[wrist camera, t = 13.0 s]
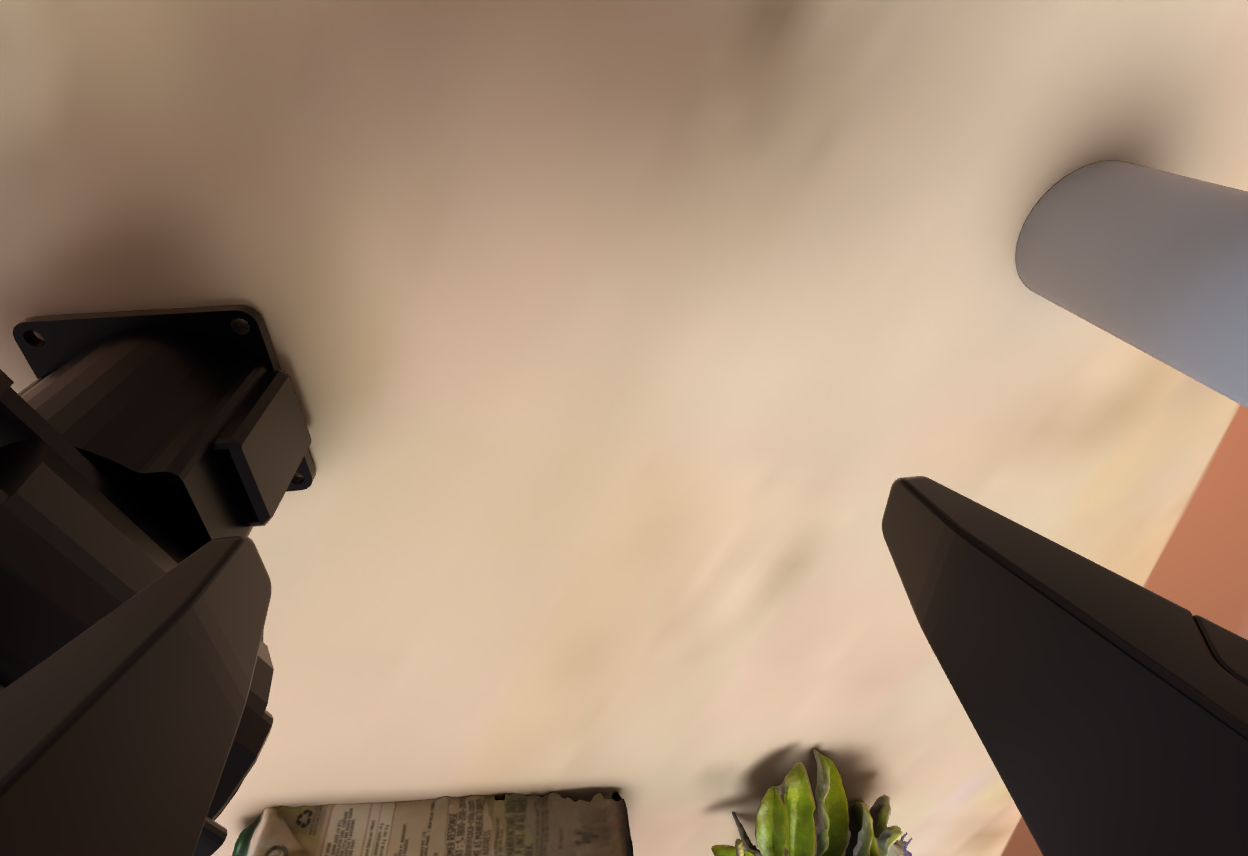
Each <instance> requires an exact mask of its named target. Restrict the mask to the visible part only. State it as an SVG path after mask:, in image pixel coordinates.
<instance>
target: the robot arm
mask: <svg viewBox="0 0 1248 856" xmlns="http://www.w3.org/2000/svg"><path fill="white" fill-rule="evenodd" d="M236 318H240V319H243V320H245V321H247V322H248V324H249V325H250V329H244V328H242V327H241V326H239V325H238V323H237V322H236ZM33 331H36V332H38V333H40V334H41V335H42V336H43V337H44V339H45V341H44V340H41V339H39V338H37V337H36V335H35V334H34V333H33ZM13 336H14V338H15V341H16V342H17V344H18V346H19V348H20V349H21V351H22V353H23V354H24V356H25V358H26V360H27V361H28V363H29V365H30V366H31V368H32V370H33V372H34V373H35V375H36V377H37V378H38V380H36V381H35V382H34V383H32V384H31V385H30V386H28V387H27V388H25V389H24V390H23V391H21V392H20V393H19V394H17V393H16V392H15V391H14V390H13V389H12V388H11V387H10V386H11V385H12V384H13V383H14V382H13V381H12V380H11V379H10V378H9V377H8V376H7V375H6V374H5V373H4V372H3V371H1V370H0V856H211V855H212V854H213V853H214V852H215V851H216V850H217V849H218V848H219V847H220V846H221V845H222V844H223V842H224V841H225V839H226V836H227V829H226V828H224V827H223V826H221V825H220V824H218V823H217V822H215V821H214V820H215V819H216V818H217V817H218V816H219V815H220V814H221V813H222V811H223V810H224V809H225V807H226V806H227V804H228V803H229V802H230V800H231V799H232V798H233V796H234V795H235V794H236V792H237V791H238V789H239V787H240V785H241V784H242V782H243V780H244V778H245V777H246V775H247V774H248V773H249V771H250V770H251V768H252V767H253V765H254V764H255V762H256V760H257V758H258V756H259V754H260V752H261V750H262V748H263V746H264V744H265V742H266V740H267V738H268V736H269V733H270V730H271V727H272V723H273V717H272V715H271V714H270V713H269V712H267V711H266V710H265V709H266V706H267V704H268V698H269V692H270V687H271V681H272V676H273V670H274V669H273V665H272V662H271V658H270V655H269V651H268V647H267V645H265V644H264V643H263V629H264V624H265V620H266V616H267V611H268V607H269V602H270V598H271V582H270V578H269V575H268V573H267V571H266V569H265V566H264V564H263V562H262V560H261V557H260V555H259V553H258V551H257V548H256V546H255V544H254V542H253V541H252V540H251V539H250V538H249V537H248V535H249V533H250V532H251V530H252V528H253V527H255V526H265V525H266V524H267V523H268V521H269V520H270V519H271V518H272V517H273V515H274V513H275V511H276V509H277V507H278V505H279V503H280V501H281V499H282V498H283V496H284V494H285V492H286V491H297V490H303V489H307V488H308V487H309V486H311V484H312V481H313V479H314V477H315V475H316V472H315V468H314V465H313V462H312V459H311V456H310V453H309V450H308V448H309V446H310V444H311V437H310V434H309V431H308V428H307V425H306V422H305V419H304V417H303V414H302V411H301V408H300V405H299V402H298V399H297V396H296V393H295V390H294V387H293V384H292V381H291V378H290V376H288V375H287V374H286V373H285V372H284V371H282V370H281V369H280V366H279V364H278V361H277V358H276V355H275V352H274V349H273V346H272V343H271V340H270V338H269V335H268V332H267V329H266V326H265V323H264V320H263V318H262V317H261V315H260V314H259V313H258V312H257V311H256V310H255V309H253V308H251V307H249V306H245V305H229V306H212V307H194V308H176V309H158V310H140V311H123V312H105V313H87V314H69V315H52V316H34V317H30V318H27V319H25V320H24V321H22V322H20V323H19V324H17V325H16V326H15V327H14V330H13ZM296 472H297V473H300V474H302V475H303V476H304V477H297V476H295V473H296ZM882 531H883V536H884V539H885V541H886V544H887V546H888V549H889V551H890V554H891V556H892V558H893V561H894V563H895V566H896V568H897V571H898V573H899V576H900V578H901V581H902V583H903V586H904V588H905V591H906V593H907V595H908V598H909V600H910V603H911V605H912V608H913V610H914V613H915V615H916V617H917V619H918V622H919V624H920V626H921V628H922V630H923V632H924V634H925V636H926V638H927V640H928V642H929V644H930V646H931V648H932V650H933V651H934V653H935V655H936V657H937V659H938V661H939V663H940V664H941V666H942V668H943V670H944V672H945V674H946V676H947V678H948V679H949V681H950V683H951V685H952V687H953V689H954V691H955V692H956V694H957V696H958V698H959V700H960V702H961V704H962V705H963V707H964V709H965V711H966V713H967V715H968V717H969V718H970V720H971V722H972V724H973V726H974V728H975V730H976V732H977V733H978V735H979V737H980V739H981V741H982V743H983V745H984V746H985V748H986V750H987V752H988V754H989V756H990V758H991V759H992V761H993V763H994V765H995V767H996V769H997V771H998V772H999V774H1000V776H1001V778H1002V780H1003V782H1004V784H1005V785H1006V787H1007V789H1008V791H1009V793H1010V795H1011V797H1012V799H1013V800H1014V802H1015V804H1016V806H1017V808H1018V810H1019V812H1020V813H1021V815H1022V817H1023V819H1024V821H1025V823H1026V825H1027V826H1028V828H1029V830H1030V832H1031V834H1032V835H1033V838H1034V839H1035V841H1036V843H1037V845H1038V847H1039V849H1040V851H1041V852H1042V854H1043V856H1248V640H1246V639H1244V638H1242V637H1240V636H1238V635H1236V634H1234V633H1232V632H1230V631H1228V630H1226V629H1224V628H1222V627H1220V626H1218V625H1216V624H1214V623H1213V622H1211V621H1209V620H1207V619H1205V618H1203V617H1201V616H1198V615H1194V616H1192V614H1191V612H1190V611H1189V610H1187V609H1185V608H1183V607H1181V606H1179V605H1177V604H1175V603H1173V602H1171V601H1169V600H1167V599H1165V598H1163V597H1161V596H1159V595H1157V594H1155V593H1153V592H1151V591H1149V590H1147V589H1145V588H1144V587H1142V586H1140V585H1138V584H1136V583H1134V582H1132V581H1130V580H1128V579H1126V578H1124V577H1122V576H1120V575H1118V574H1116V573H1114V572H1112V571H1110V570H1108V569H1106V568H1104V567H1102V566H1100V565H1098V564H1096V563H1094V562H1092V561H1090V560H1089V559H1087V558H1085V557H1083V556H1081V555H1079V554H1077V553H1075V552H1073V551H1071V550H1069V549H1067V548H1065V547H1063V546H1061V545H1059V544H1057V543H1055V542H1053V541H1051V540H1049V539H1047V538H1045V537H1043V536H1041V535H1039V534H1037V533H1035V532H1033V531H1032V530H1030V529H1028V528H1026V527H1024V526H1022V525H1020V524H1018V523H1016V522H1014V521H1012V520H1010V519H1008V518H1006V517H1004V516H1002V515H1000V514H998V513H996V512H994V511H992V510H990V509H988V508H986V507H984V506H982V505H980V504H978V503H976V502H975V501H973V500H971V499H969V498H967V497H965V496H963V495H961V494H959V493H957V492H955V491H953V490H951V489H949V488H947V487H945V486H943V485H941V484H939V483H937V482H935V481H933V480H931V479H929V478H927V477H924V476H916V477H904V478H899V479H897V480H895V481H894V483H893V484H892V487H891V490H890V494H889V498H888V501H887V505H886V509H885V512H884V516H883V520H882Z"/></svg>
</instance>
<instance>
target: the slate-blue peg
mask: <svg viewBox="0 0 1248 856" xmlns="http://www.w3.org/2000/svg"><path fill="white" fill-rule="evenodd" d="M1016 266H1017V271H1018V274H1019V277H1020V278H1021V280H1022V282H1023V283H1024V284H1025V286H1026V287H1027V288H1029V289H1030V290H1031V291H1033V292H1034V293H1036V294H1038V295H1040V296H1042V297H1044V298H1045V299H1047V300H1049V301H1051V302H1053V303H1055V304H1057V305H1058V306H1060V307H1062V308H1064V309H1066V310H1068V311H1069V312H1071V313H1073V314H1075V315H1077V316H1079V317H1080V318H1082V319H1084V320H1086V321H1088V322H1090V323H1091V324H1093V325H1095V326H1097V327H1099V328H1101V329H1103V330H1104V331H1106V332H1108V333H1110V334H1112V335H1114V336H1115V337H1117V338H1119V339H1121V340H1123V341H1125V342H1126V343H1128V344H1130V345H1132V346H1134V347H1136V348H1137V349H1139V350H1141V351H1143V352H1145V353H1147V354H1149V355H1150V356H1152V357H1154V358H1156V359H1158V360H1160V361H1161V362H1163V363H1165V364H1167V365H1169V366H1171V367H1172V368H1174V369H1176V370H1178V371H1180V372H1182V373H1183V374H1185V375H1187V376H1189V377H1191V378H1193V379H1195V380H1196V381H1198V382H1200V383H1202V384H1204V385H1206V386H1207V387H1209V388H1211V389H1213V390H1215V391H1217V392H1218V393H1220V394H1222V395H1224V396H1226V397H1228V398H1229V399H1231V400H1233V401H1235V402H1237V403H1239V404H1241V405H1243V406H1244V407H1246V408H1248V192H1247V191H1243V190H1239V189H1234V188H1230V187H1226V186H1222V185H1218V184H1214V183H1209V182H1205V181H1201V180H1197V179H1193V178H1189V177H1185V176H1180V175H1176V174H1172V173H1168V172H1164V171H1160V170H1155V169H1151V168H1147V167H1143V166H1139V165H1135V164H1131V163H1126V162H1122V161H1111V160H1109V161H1101V162H1097V163H1093V164H1090V165H1087V166H1084V167H1082V168H1080V169H1078V170H1076V171H1074V172H1072V173H1071V174H1069V175H1068V176H1066V177H1064V178H1063V179H1062V180H1060V181H1059V182H1058V183H1057V184H1055V185H1054V186H1053V187H1052V188H1051V189H1050V190H1049V191H1048V192H1047V193H1046V194H1045V195H1044V196H1043V197H1042V198H1041V199H1040V200H1039V202H1038V203H1037V204H1036V206H1035V207H1034V208H1033V210H1032V211H1031V213H1030V215H1029V216H1028V218H1027V220H1026V222H1025V224H1024V226H1023V228H1022V231H1021V233H1020V236H1019V239H1018V243H1017V249H1016Z"/></svg>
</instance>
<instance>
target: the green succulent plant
mask: <svg viewBox="0 0 1248 856" xmlns="http://www.w3.org/2000/svg"><path fill="white" fill-rule="evenodd" d="M814 756H815V759H816V763H817V787H816V793H815V797H816V802H817V805H818V825H817V830H816V829H815V828H816V825H815V822H814V817H813V812H814V810H815V809H816V806H815V800H814V797H813V793H812V789H811V784H810V782H809V778H808V774H807V770H806V769H805V766H804V765H803V763H802V762H797V763H795V764H794V766H793V767H792V768H791V769H790V771H789V772H788V774H787V775H786V776H785V778H784V780H783V783H782V784H781V785H779V786H772V787H771V788H769V789H768V790H767V792H766V794H765V796H764V797H763V799H762V801H761V804H760V806H759V809H758V812H757V816H756V829H755V837H756V841H757V847H758V848H759V850H758V849H757V848H756V846H755V845H754V846H753V845H752V843H751V841H750V839H749V837H748V836H747V834H746V831H745V830H744V828H743V826H742V824H741V823H740V822H739V820H738V818H737V816H736V814H735V813H734V812H733V813H732V815H733V817H734V819H735V822H736V824H737V827H738V831H739V833H740V836H741V839H742V840H740V839H737V840H736V842H735V847H734V846H729V845H715V846H712V848H711V849H712V852H713V854H714V855H715V856H912V854H911V853H910V852H908V851H906V848H907V845H908V844H909V843H910V841H911V840H912V837H911V839H910V840H909V841H908V842H906V841H903V839H904V837H905V836H906V835H907V833H906V834H904V835H903V836H902V837H901V835H902V831H901V829H900V828H899V827H898V826H892V827H887V822H888V818H889V816H890V812H891V808H890V797H888V796H886V795H883V796H881V797H879V798H878V799H877V800H876V802H875V803H874V805H873V806H872V807H871V809H869V807H868V806H867V805H866V804H865V803H863V802H860V801H855V802H853V803H852V804H851V806H850V807H849V808H848V801H847V797H846V794H845V790H844V788H843V785H842V777H841V776H840V774H839V772H838V769H837V768H836V766H835V764H834V762H833V760H832V759H830V758H828V757H826V756H824V755H822V754H820V753H819V752H818V751H817V749H814ZM900 837H901V840H900V841H898V840H897V839H899V838H900ZM743 848H744V849H743Z"/></svg>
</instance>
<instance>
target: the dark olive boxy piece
mask: <svg viewBox="0 0 1248 856" xmlns="http://www.w3.org/2000/svg"><path fill="white" fill-rule="evenodd" d="M495 796H496V795H494V796H487V795H485V796H481V795H471V796H467V797H464V798H452V797H448V796H446V797H440V798H437V799H428V800H417V801H406V802H387V803H361V804H330V805H321V806H302V807H285V806H280V807H277V808H266V809H265V810H264V811H263V813H262V815H261V816H260V817H259V819H258V820H257V821H256V822H255V823H254V824H252V825H251V826H249V827H247V828H246V829H244V830H243V831H242V832H241V833H240V835H239V838H238V839H237V841H236V843H235V847H234V851H233V855H232V856H633V845H632V840H631V836H630V829H629V822H628V814H627V808H626V804H625V801H624V799H622V798H621V797H620V795H619V794H618V792H617V791H615V792H614V793H613V795H612V799H604V798H603V796H602V794H601V793H597V794H596V795H594V797H593V798H592V800H591V802H587V801H582V800H579V801H577V802H574V801H572V800H571V799H570V798H569V797H568V798H562V797H561V796H560V795H559V794H558V793H555V792H552V793H549V794H546V795H545V796H544V797H539V796H537V795H530V796H524V795H521V794H515V793H513V794H512V795H509V794H505V800H497V801H496V800H495Z"/></svg>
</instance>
